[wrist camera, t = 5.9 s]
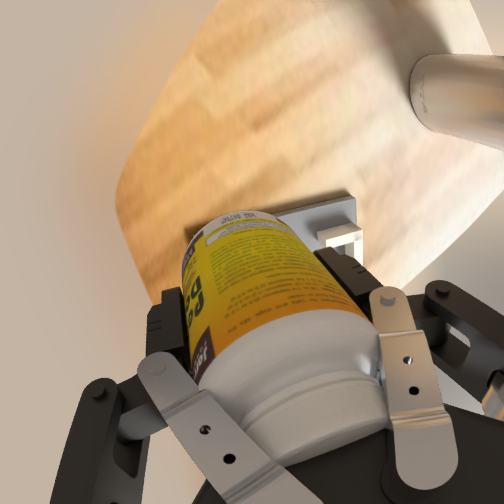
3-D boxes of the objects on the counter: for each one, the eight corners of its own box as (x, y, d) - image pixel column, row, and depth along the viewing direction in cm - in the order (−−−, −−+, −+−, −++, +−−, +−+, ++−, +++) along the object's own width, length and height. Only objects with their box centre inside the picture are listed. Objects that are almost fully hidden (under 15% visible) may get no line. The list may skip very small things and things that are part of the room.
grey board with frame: (350, 195, 31) (366, 204, 29) (352, 304, 38) (364, 318, 35) (192, 234, 29) (195, 248, 27) (225, 345, 36) (230, 363, 33)
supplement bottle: (170, 217, 13) (185, 445, 4) (297, 197, 14) (466, 353, 5) (191, 322, 16) (229, 523, 7) (298, 301, 17) (399, 469, 8)
